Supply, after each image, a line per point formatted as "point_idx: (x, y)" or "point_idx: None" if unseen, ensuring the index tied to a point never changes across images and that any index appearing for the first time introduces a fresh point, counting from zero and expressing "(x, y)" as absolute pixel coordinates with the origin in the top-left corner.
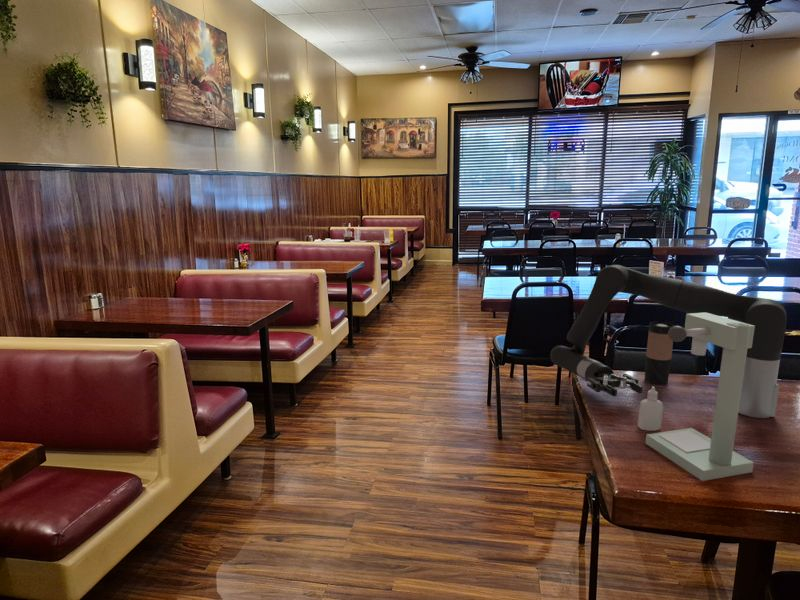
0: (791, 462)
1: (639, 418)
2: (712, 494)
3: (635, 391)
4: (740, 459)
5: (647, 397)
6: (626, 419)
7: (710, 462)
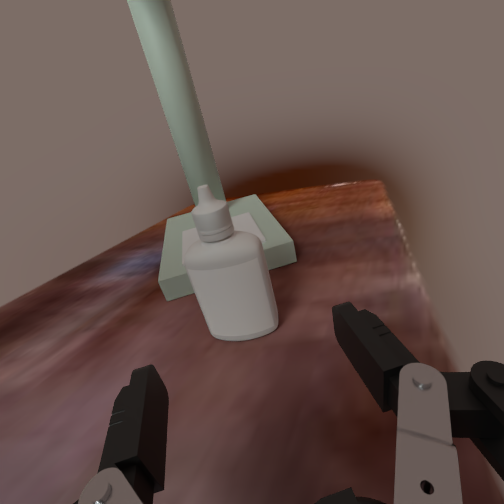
0: (88, 261)
1: (273, 295)
2: (263, 197)
3: (166, 436)
4: (178, 220)
5: (233, 227)
6: (298, 380)
7: (229, 207)
